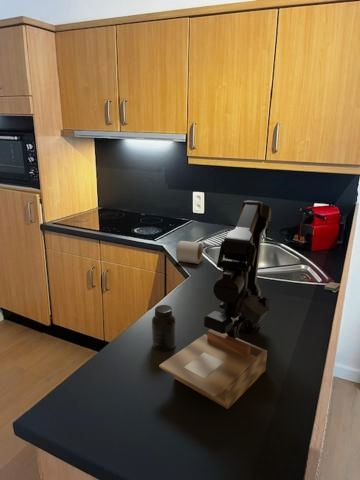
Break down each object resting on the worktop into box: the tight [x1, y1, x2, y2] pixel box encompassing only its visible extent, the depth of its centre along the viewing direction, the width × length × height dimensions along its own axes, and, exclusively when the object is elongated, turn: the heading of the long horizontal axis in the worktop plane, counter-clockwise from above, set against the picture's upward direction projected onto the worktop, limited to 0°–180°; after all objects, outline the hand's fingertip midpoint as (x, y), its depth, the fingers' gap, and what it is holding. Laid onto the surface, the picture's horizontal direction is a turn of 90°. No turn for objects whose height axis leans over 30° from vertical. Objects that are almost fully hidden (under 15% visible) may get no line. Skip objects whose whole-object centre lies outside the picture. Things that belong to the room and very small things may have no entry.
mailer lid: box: [158, 329, 257, 399], centre depth 85 cm, size 18×16×3 cm
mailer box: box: [173, 333, 268, 410], centre depth 91 cm, size 18×16×6 cm
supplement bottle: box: [151, 304, 177, 352], centre depth 102 cm, size 7×7×12 cm
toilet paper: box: [175, 240, 204, 265], centre depth 171 cm, size 10×10×10 cm
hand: (232, 340), depth 93 cm, fingers closed
